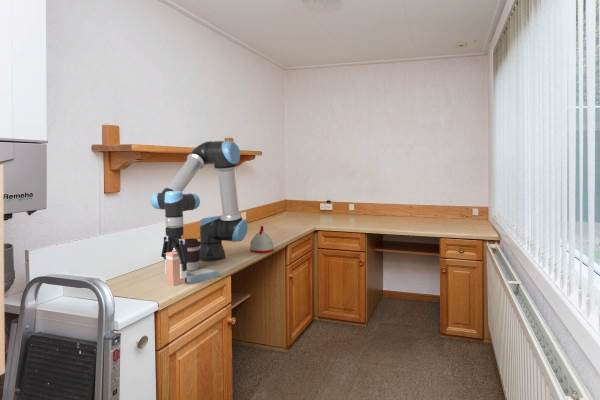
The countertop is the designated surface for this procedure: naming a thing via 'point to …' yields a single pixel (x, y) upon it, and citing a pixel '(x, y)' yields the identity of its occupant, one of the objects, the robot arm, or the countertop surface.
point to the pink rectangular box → (173, 269)
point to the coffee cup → (193, 253)
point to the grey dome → (261, 243)
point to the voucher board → (200, 275)
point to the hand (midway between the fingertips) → (175, 275)
